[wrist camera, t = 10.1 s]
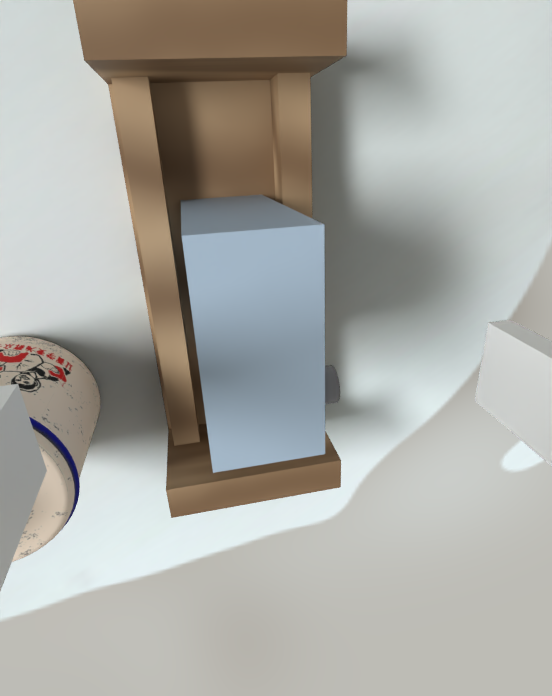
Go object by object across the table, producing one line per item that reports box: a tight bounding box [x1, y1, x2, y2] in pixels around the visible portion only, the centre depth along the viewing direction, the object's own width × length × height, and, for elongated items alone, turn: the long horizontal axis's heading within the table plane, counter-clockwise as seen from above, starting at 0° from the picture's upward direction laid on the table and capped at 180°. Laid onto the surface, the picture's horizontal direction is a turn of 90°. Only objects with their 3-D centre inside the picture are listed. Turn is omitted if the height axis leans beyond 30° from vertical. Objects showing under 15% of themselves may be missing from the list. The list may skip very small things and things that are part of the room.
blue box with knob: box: [181, 195, 340, 473], centre depth 21 cm, size 9×6×12 cm, turn 3°
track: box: [73, 0, 347, 518], centre depth 24 cm, size 24×10×7 cm, turn 3°
